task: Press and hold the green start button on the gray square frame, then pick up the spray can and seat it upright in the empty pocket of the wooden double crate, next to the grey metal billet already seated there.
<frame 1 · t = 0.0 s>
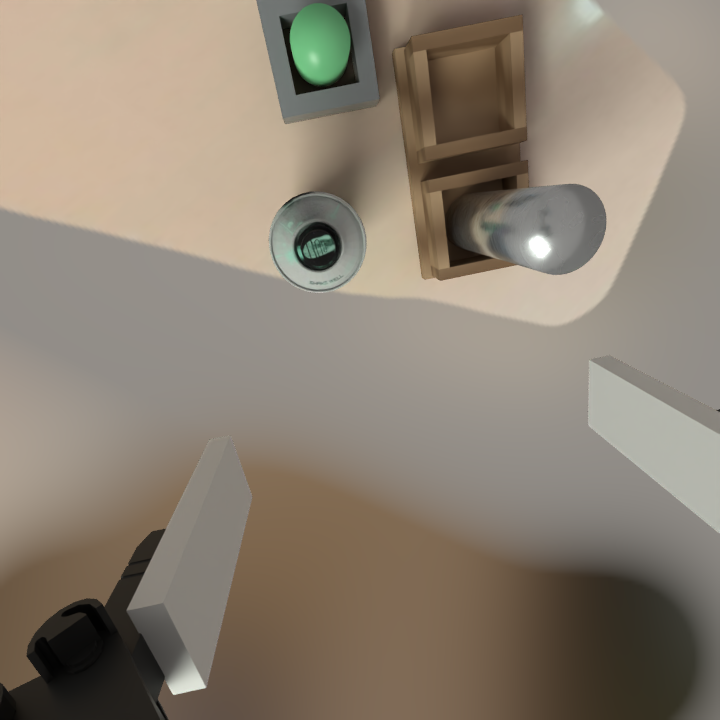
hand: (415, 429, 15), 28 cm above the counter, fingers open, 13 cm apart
spray can: (319, 228, 39), on the counter
wooden double crate: (461, 165, 38), on the counter
start button: (320, 47, 31), point 3 cm above the counter, slide at 0.0 cm
seated billet: (470, 221, 39), point 1 cm above the counter, touching wooden double crate
gray square frame: (320, 60, 34), on the counter
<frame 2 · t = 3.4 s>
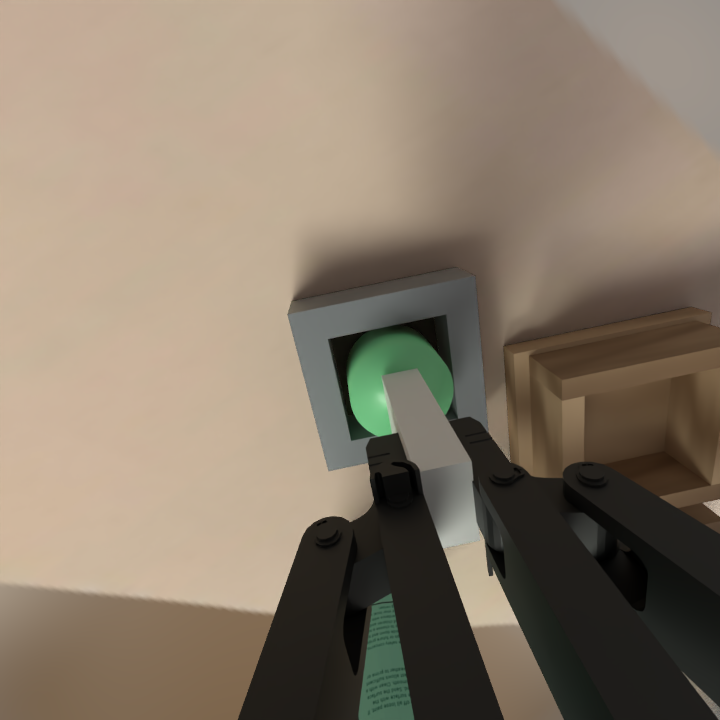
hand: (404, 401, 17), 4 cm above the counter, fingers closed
spray can: (374, 558, 26), on the counter
wooden double crate: (593, 475, 25), on the counter
start button: (396, 380, 19), point 2 cm above the counter, slide at 0.6 cm, touching gripper
gray square frame: (388, 361, 21), on the counter
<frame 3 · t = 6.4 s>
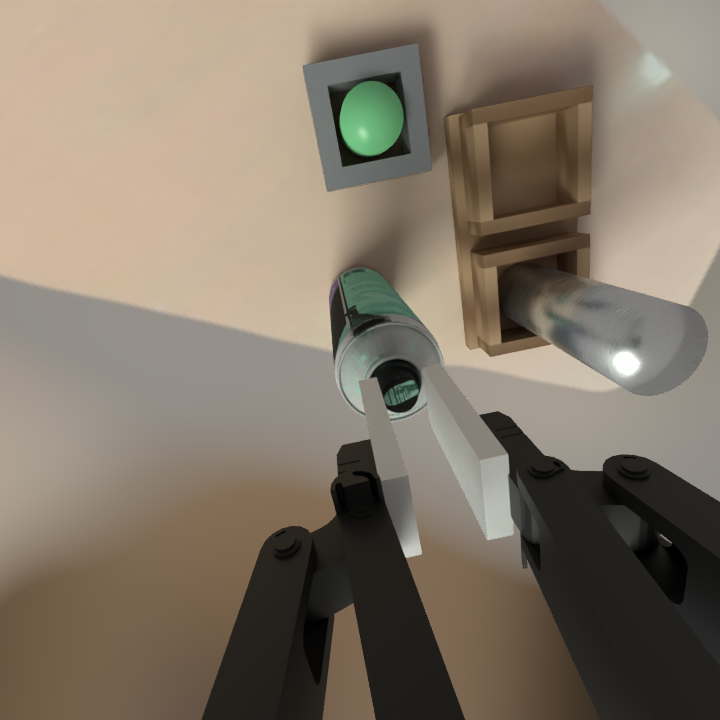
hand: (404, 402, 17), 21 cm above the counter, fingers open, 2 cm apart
spray can: (359, 297, 37), on the counter
wooden double crate: (512, 231, 35), on the counter
start button: (369, 122, 30), point 2 cm above the counter, slide at 1.1 cm
seated billet: (521, 290, 36), point 1 cm above the counter, touching wooden double crate
gray square frame: (367, 126, 32), on the counter
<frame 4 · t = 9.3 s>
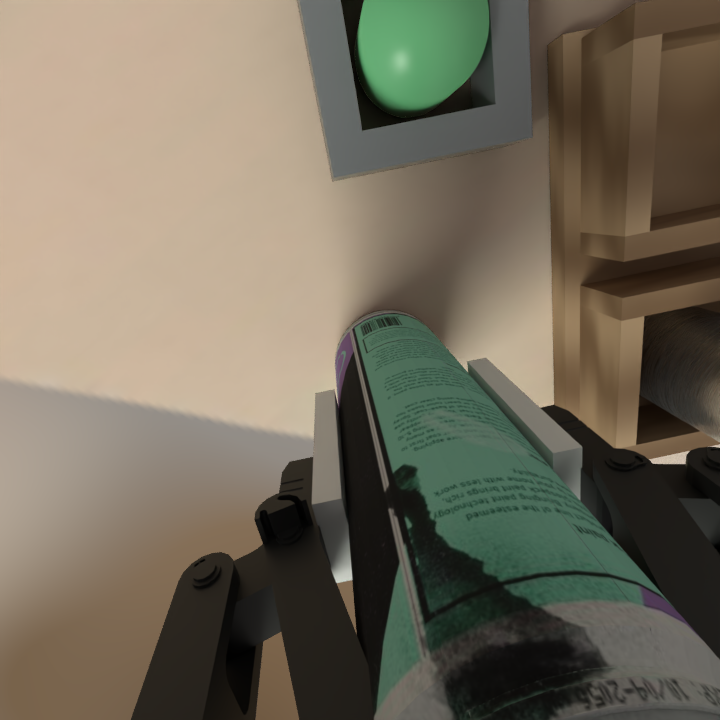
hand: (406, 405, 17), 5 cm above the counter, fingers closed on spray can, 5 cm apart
spray can: (386, 358, 22), on the counter, touching gripper
wooden double crate: (648, 249, 21), on the counter
start button: (416, 42, 15), point 2 cm above the counter, slide at 1.1 cm
seated billet: (658, 348, 21), point 1 cm above the counter, touching wooden double crate
gray square frame: (406, 59, 17), on the counter
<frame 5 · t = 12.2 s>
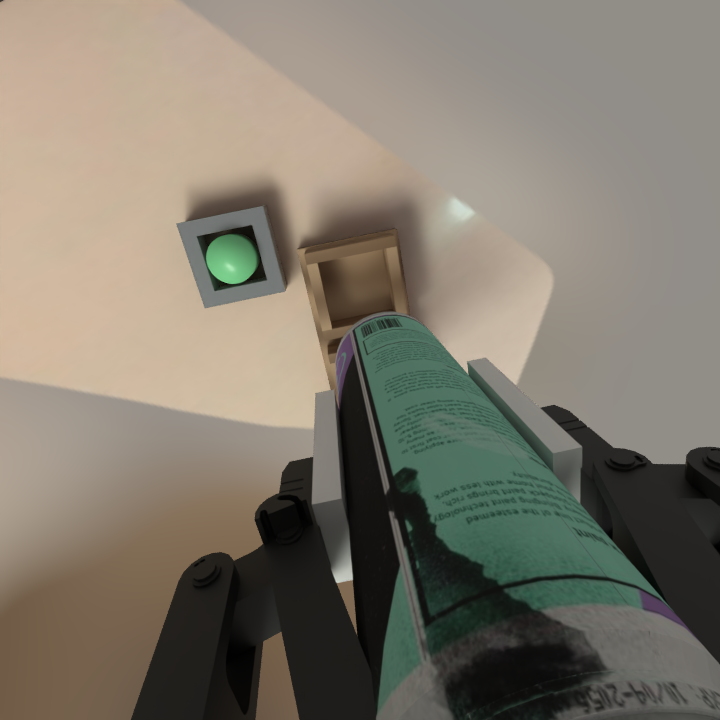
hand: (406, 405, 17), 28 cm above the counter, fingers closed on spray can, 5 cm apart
spray can: (386, 360, 22), point 23 cm above the counter, touching gripper
wooden double crate: (363, 327, 45), on the counter
start button: (234, 258, 39), point 2 cm above the counter, slide at 1.1 cm
gray square frame: (237, 255, 41), on the counter
when the fingers open (8 cm above the counter, at t = 15.0 s): spray can drops 1 cm, resting on wooden double crate.
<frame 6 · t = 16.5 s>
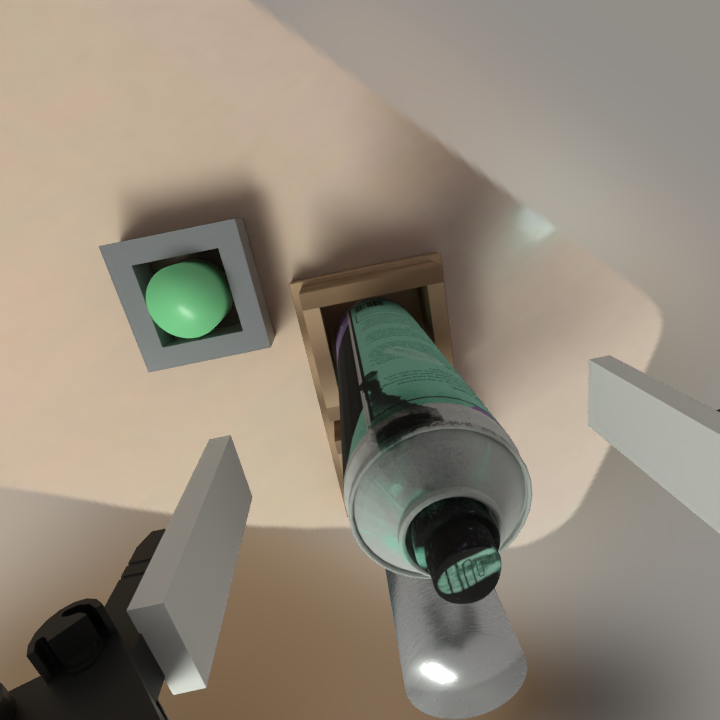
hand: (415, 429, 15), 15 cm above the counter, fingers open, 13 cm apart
spray can: (375, 335, 28), point 1 cm above the counter, touching wooden double crate
wooden double crate: (386, 392, 31), on the counter
start button: (192, 297, 26), point 2 cm above the counter, slide at 1.1 cm
seated billet: (399, 457, 32), point 1 cm above the counter, touching wooden double crate
gray square frame: (201, 292, 28), on the counter
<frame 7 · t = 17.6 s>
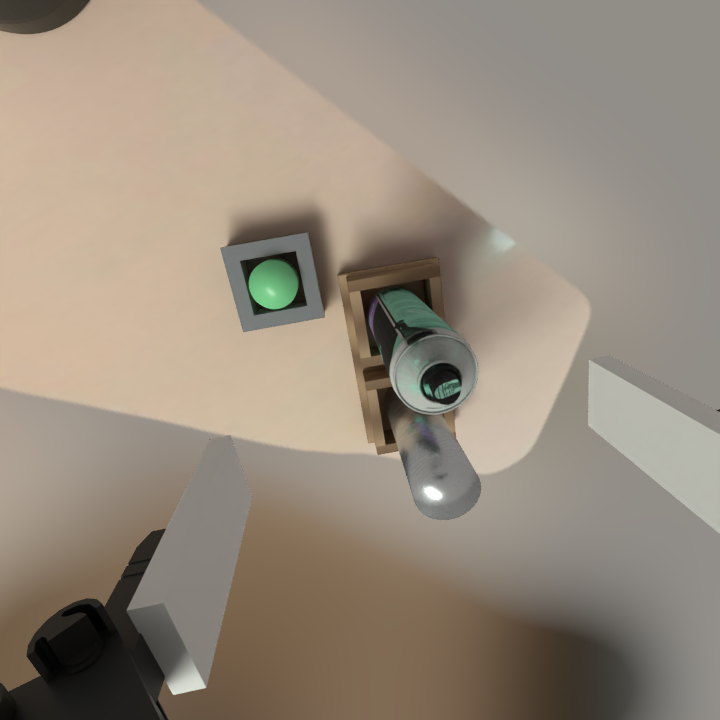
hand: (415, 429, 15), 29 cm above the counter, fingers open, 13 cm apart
spray can: (393, 312, 42), point 1 cm above the counter, touching wooden double crate
wooden double crate: (399, 353, 45), on the counter
start button: (275, 282, 39), point 2 cm above the counter, slide at 1.1 cm
seated billet: (406, 399, 45), point 1 cm above the counter, touching wooden double crate
gray square frame: (277, 280, 41), on the counter
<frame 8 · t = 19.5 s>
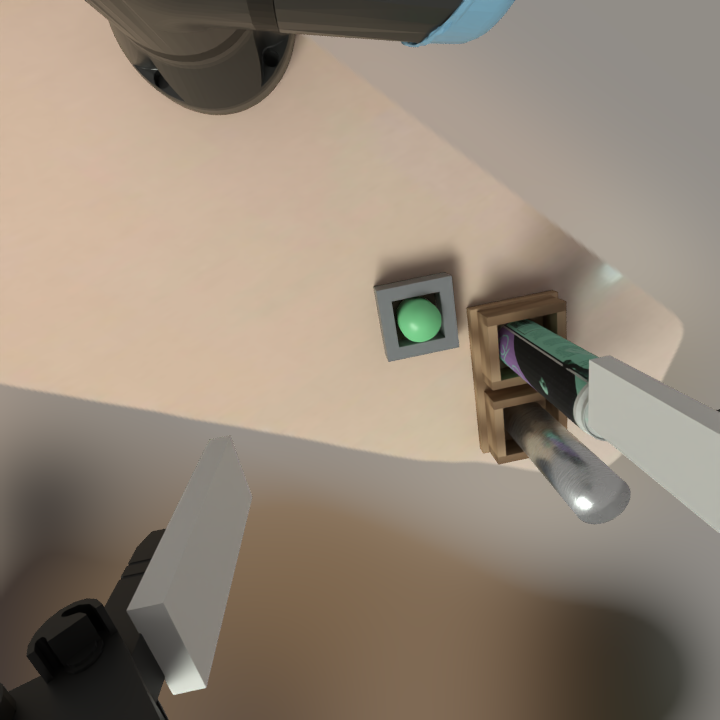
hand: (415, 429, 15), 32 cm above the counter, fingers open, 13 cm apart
spray can: (514, 339, 47), point 1 cm above the counter, touching wooden double crate
wooden double crate: (513, 374, 50), on the counter
start button: (417, 318, 45), point 2 cm above the counter, slide at 1.1 cm
seated billet: (520, 414, 51), point 1 cm above the counter, touching wooden double crate
gray square frame: (414, 314, 46), on the counter
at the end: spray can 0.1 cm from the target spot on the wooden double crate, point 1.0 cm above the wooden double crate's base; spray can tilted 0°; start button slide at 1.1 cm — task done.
